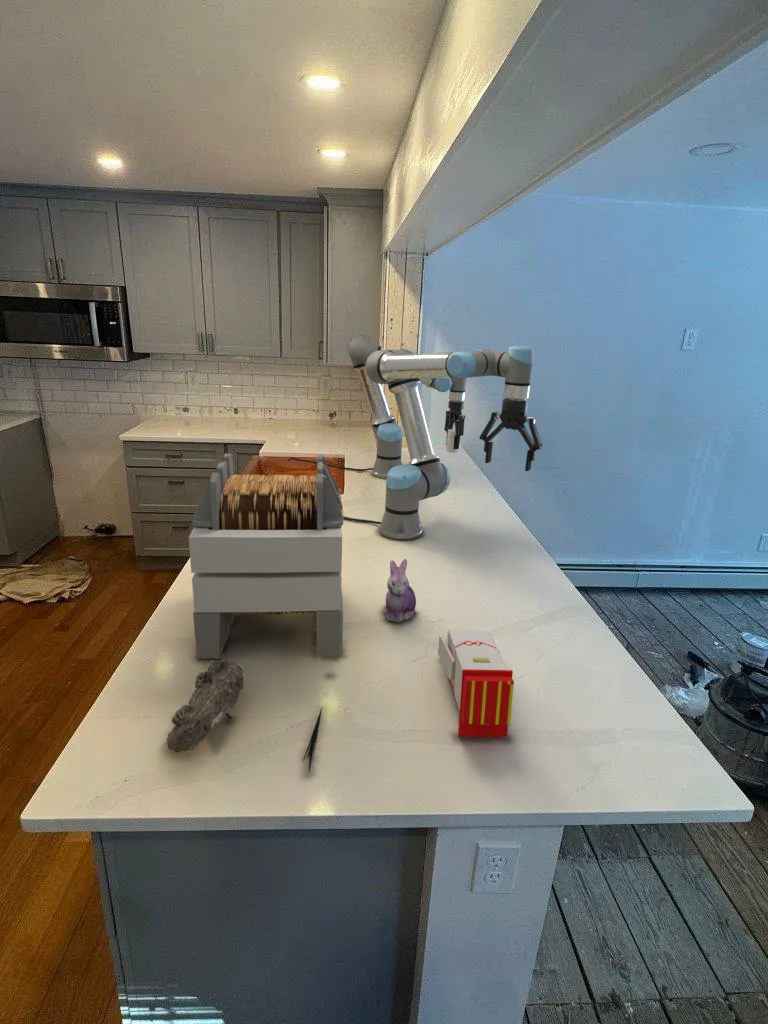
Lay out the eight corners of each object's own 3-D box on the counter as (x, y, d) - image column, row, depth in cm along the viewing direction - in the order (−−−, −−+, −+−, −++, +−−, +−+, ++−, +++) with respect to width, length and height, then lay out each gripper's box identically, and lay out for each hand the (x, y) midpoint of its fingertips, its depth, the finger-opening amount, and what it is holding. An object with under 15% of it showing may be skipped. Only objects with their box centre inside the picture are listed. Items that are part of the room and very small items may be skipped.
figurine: (392, 627, 141) (395, 572, 136) (374, 608, 149) (376, 556, 144) (425, 619, 145) (429, 566, 140) (405, 601, 154) (408, 550, 149)
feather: (331, 679, 122) (336, 673, 122) (307, 777, 96) (313, 769, 95) (324, 675, 122) (329, 669, 121) (298, 772, 95) (304, 764, 95)
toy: (488, 613, 130) (523, 677, 101) (484, 667, 133) (517, 744, 104) (435, 612, 130) (455, 676, 101) (432, 666, 133) (451, 743, 103)
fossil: (192, 660, 117) (244, 628, 112) (224, 691, 120) (276, 661, 115) (142, 746, 98) (202, 712, 93) (182, 779, 101) (242, 748, 96)
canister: (456, 453, 279) (458, 431, 275) (444, 451, 281) (446, 430, 277) (459, 451, 284) (461, 429, 280) (447, 449, 286) (449, 428, 282)
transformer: (219, 588, 156) (210, 443, 142) (338, 587, 160) (340, 446, 146) (193, 661, 124) (179, 483, 110) (343, 657, 128) (346, 485, 114)
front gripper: (559, 402, 169) (549, 471, 176) (483, 393, 182) (477, 457, 190) (550, 405, 163) (540, 476, 171) (473, 395, 177) (466, 461, 184)
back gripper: (474, 403, 268) (469, 451, 275) (452, 397, 283) (448, 442, 291) (461, 404, 264) (456, 452, 272) (439, 397, 280) (435, 443, 288)
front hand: (507, 466), depth 180 cm, fingers open, 13 cm apart
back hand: (452, 447), depth 282 cm, fingers closed on canister, 6 cm apart
